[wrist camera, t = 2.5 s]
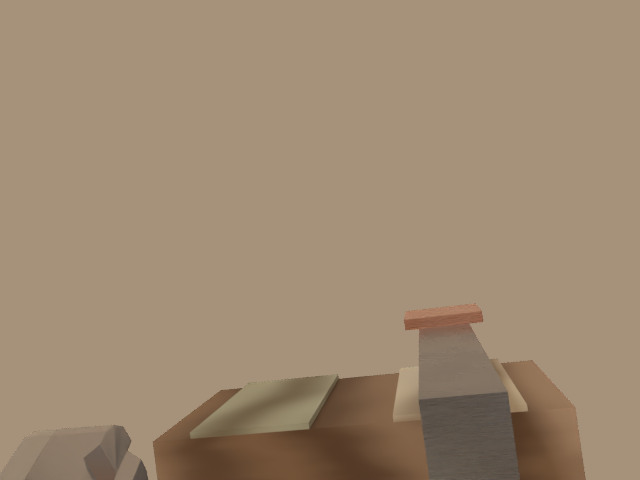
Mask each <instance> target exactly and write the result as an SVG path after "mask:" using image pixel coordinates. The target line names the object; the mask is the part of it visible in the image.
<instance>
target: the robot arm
mask: <svg viewBox="0 0 640 480" xmlns="http://www.w3.org/2000/svg"><path fill="white" fill-rule="evenodd" d="M130 443H131V439H130V437H129V436H128V434H127V432H126V431H125V429H124V427H122V426H116V425H111V426H95V427H81V428H66V429H60V430H46V431H34V432H33V433H31V434H29V435H28V436H26V437H25V438H24V439H23V441H22V442H21V444H20V445H19V447H18V448H17V450H16V451H15V453H14V454H13V456H12V457H11V459H10V460H9V462H8V463H7V465H6V466H5V468H4V469H3V471H2V472H1V474H0V480H148V476H147V471H146V469H145V466H144V464H143V462H142V460H141V459H139V458H138V457H136V456H135V455H133V454H132V453H130V452H129V451H128V448H129V446H130Z"/></svg>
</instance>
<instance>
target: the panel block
mask: <svg viewBox="0 0 640 480" xmlns="http://www.w3.org/2000/svg"><path fill="white" fill-rule="evenodd" d="M490 361H491V363H492V365H493V367H494V368H495V370H496V372H497V374H498V375H499V377H500V379H501V381H502V382H503V384H504V386H505V388H506V389H507V391H508V397H509V404H510V411H511V419H512V426H513V433H514V440H515V447H516V454H517V461H518V468H519V475H520V480H586V479H585V472H584V466H583V458H582V452H581V444H580V438H579V430H578V424H577V417H576V410H575V407H574V405H573V404H572V403H571V402H570V401H569V400H568V399H567V398H566V397H565V396H564V395H563V393H562V392H561V391H560V390H559V389H558V388H557V387H556V386H555V385H554V384H553V383H552V381H551V380H550V379H549V378H548V377H547V376H546V375H545V374H544V373H543V372H542V371H541V370H540V368H539V367H538V366H537V365H536V364H535V363H534V362H533V361H532V360H530V361H520V362H511V363H500V362H499V360H498V359H490ZM418 395H419V366H418V367H408V368H400V372H399V373H396V374H385V375H375V376H364V377H354V378H343V379H339V378H338V374H336V375H327V376H316V377H306V378H295V379H285V380H275V381H264V382H254V383H248V384H247V385H246V386H245V387H244V388H240V389H229V390H221V391H220V392H218V393H217V394H215V395H214V396H213V397H212V398H210V399H209V400H207V401H206V402H205V403H203V404H202V405H201V406H200V407H198V408H197V409H196V410H194V411H193V412H192V413H190V414H189V415H188V416H186V417H185V418H184V419H182V421H180V422H179V423H177V424H176V425H174V426H173V427H172V428H171V429H169V430H168V431H167V432H165V433H164V434H163V435H161V436H160V437H159V438H157V439H156V440H155V441H153V447H154V455H155V462H156V470H157V478H158V480H429V473H428V465H427V458H426V451H425V444H424V436H423V429H422V422H421V414H420V407H419V400H418Z"/></svg>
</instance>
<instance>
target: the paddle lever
mask: <svg viewBox="0 0 640 480" xmlns="http://www.w3.org/2000/svg"><path fill="white" fill-rule="evenodd" d="M477 322H483V317H482V311H481V310H480V309H479V307H478V306H477V305H476V304H467V305H458V306H449V307H440V308H432V309H423V310H414V311H407V312H406V313H405V319H404V323H405V329H406V330H411V329H419V395H418V400H419V407H420V414H421V422H422V429H423V436H424V444H425V451H426V458H427V465H428V473H429V480H520V475H519V468H518V461H517V454H516V447H515V440H514V433H513V426H512V419H511V411H510V404H509V397H508V391H507V389H506V388H505V386H504V384H503V382H502V381H501V379H500V377H499V375H498V374H497V372H496V370H495V368H494V367H493V365H492V363H491V361H490V360H489V358H488V356H487V354H486V353H485V351H484V349H483V348H482V346H481V344H480V342H479V340H478V339H477V337H476V335H475V333H474V332H473V330H472V328H471V326H470V325H469V323H477Z"/></svg>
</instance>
